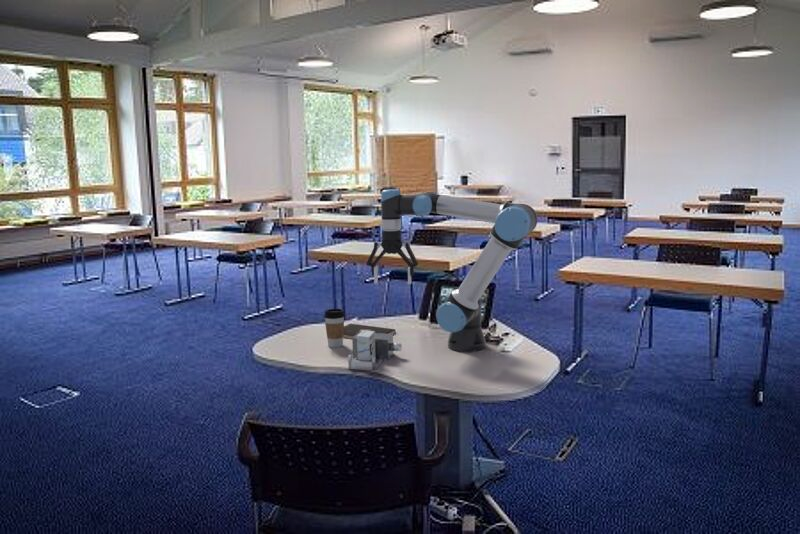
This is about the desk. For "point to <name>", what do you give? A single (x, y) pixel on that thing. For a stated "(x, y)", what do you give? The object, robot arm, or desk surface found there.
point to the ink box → (366, 345)
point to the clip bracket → (364, 363)
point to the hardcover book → (353, 329)
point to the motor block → (380, 345)
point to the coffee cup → (334, 327)
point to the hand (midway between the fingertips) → (392, 283)
